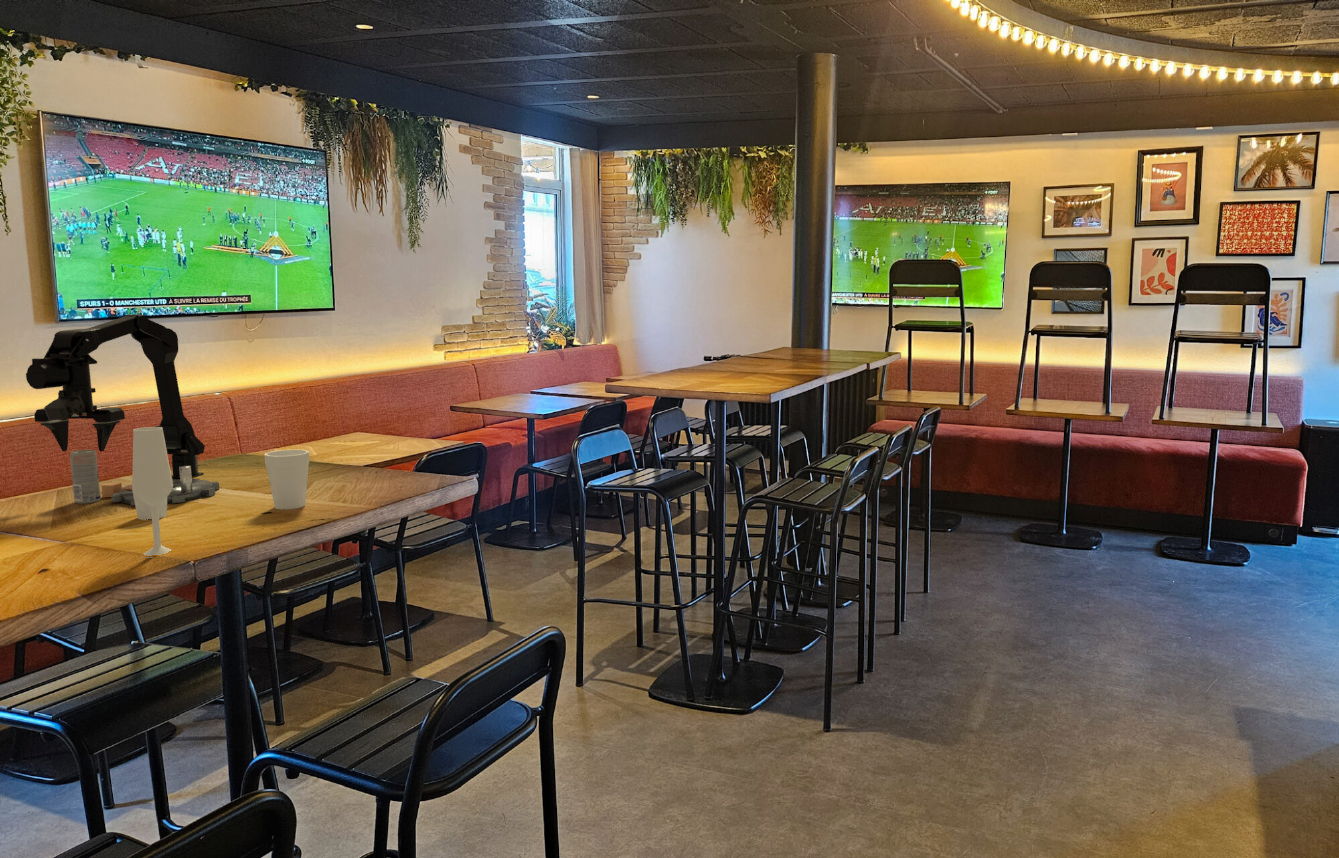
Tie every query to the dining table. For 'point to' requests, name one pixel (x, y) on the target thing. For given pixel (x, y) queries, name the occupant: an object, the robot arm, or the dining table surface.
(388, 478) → the dining table surface
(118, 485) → the peach wooden cube
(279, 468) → the foam cup
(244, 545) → the dining table surface
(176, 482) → the sprocket
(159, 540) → the champagne flute
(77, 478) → the energy drink
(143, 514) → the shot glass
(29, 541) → the dining table surface
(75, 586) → the dining table surface
